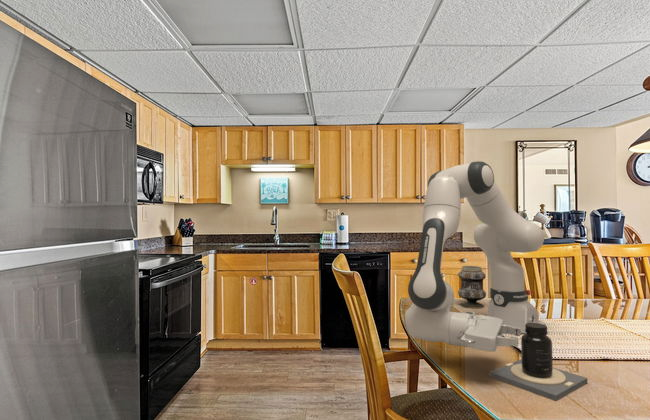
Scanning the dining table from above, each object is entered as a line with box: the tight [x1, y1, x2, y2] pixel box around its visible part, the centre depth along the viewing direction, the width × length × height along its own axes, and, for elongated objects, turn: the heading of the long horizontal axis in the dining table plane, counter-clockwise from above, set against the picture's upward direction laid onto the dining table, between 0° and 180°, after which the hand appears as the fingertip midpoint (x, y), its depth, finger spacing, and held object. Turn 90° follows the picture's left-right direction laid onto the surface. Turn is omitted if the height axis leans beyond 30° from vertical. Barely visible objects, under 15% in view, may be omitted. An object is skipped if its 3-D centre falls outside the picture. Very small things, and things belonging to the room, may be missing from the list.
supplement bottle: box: [520, 323, 554, 378], centre depth 96 cm, size 7×7×12 cm
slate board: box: [489, 358, 588, 402], centre depth 97 cm, size 16×16×2 cm
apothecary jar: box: [457, 265, 487, 309], centre depth 177 cm, size 12×12×18 cm
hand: (519, 337), depth 99 cm, fingers open, 8 cm apart
